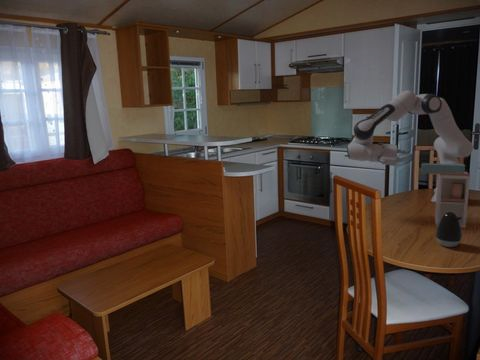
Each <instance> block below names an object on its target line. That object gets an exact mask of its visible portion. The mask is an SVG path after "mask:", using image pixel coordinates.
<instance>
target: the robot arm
mask: <svg viewBox="0 0 480 360" xmlns="http://www.w3.org/2000/svg"><path fill="white" fill-rule="evenodd" d="M407 114H411V115H428V116H429V119H430V121H431V125H432V126H433V129H434V131H435V133H436V134H437V135H438V137H437V138H436V139H435V140H434V141H433V148H434V150H435V151H436V153H437V155H438V159H439V164H461V163H460V162H459V159H458V158H467V157H470V155H471V154H472V152H473V149H474V145H473V143H472V142H471V141H470V140H468V139H467V137H466V136H465V135H464V133H462V131H461V130H460V128H459V127H458V125H457V123H456V120H455V118H454V116H453V113H452V111H451V108H450V105H448V103H447V101H446V99H444V98H442V97H439V96H438V95H436V94H434V93H421V94H415V92H413V91H411V90H408V89H407V90H404V91H401V92H399V94H397V95H395V96H394V97H393V98H392V99H391V100H390V101H388V102H387V103H386V104H384V105H382V106H381V107H380V108H378V109H377V110H376V111H374V112H373V113H372V114H371V115H369V116H368V117H367V118H364V119H362V120H359V121H358V122H356V123H355V124H354V126H353V135H354V137H353V139H352V141H351V142H349V144H347V146H346V149H347V150H346V151H347V152H346V153H347V158H348V159H349V160H353V161H359V162H365V161H367V162H368V161H369V162H370V163H381V165H385V166H397V163H401V162H407V159H408V158H407V157H405V156H402V157H399V156H398V154H402V155H407V149H401V148H398V145H397V144H392V143H383V142H378V143H377V144H373V143H374V133H375V130H376V128H377V127H378V126H380V124H382V123H383V122H384V121H386V120H388V121H391V122H397V121H399V120H401V119H402V118H403V117H404V116H406V115H407ZM433 193H434V194H433V196H432V198H431V201H430V202H433V203H436V194H437V187H435V188H434V189H433Z"/></svg>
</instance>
